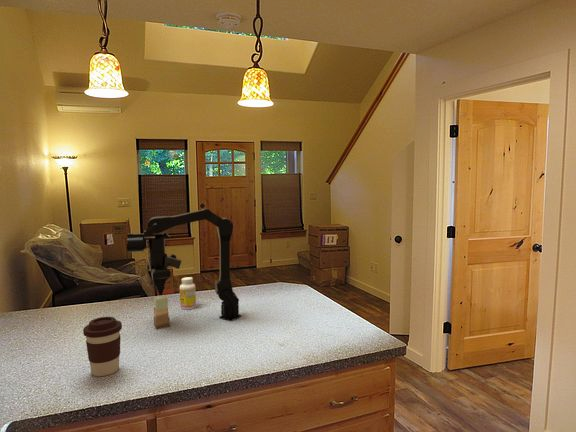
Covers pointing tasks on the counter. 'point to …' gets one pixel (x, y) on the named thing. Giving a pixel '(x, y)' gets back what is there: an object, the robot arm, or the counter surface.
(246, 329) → the counter surface
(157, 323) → the walnut base
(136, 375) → the counter surface
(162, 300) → the sage block
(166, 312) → the oak block
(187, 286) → the supplement bottle
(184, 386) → the counter surface
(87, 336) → the coffee cup
